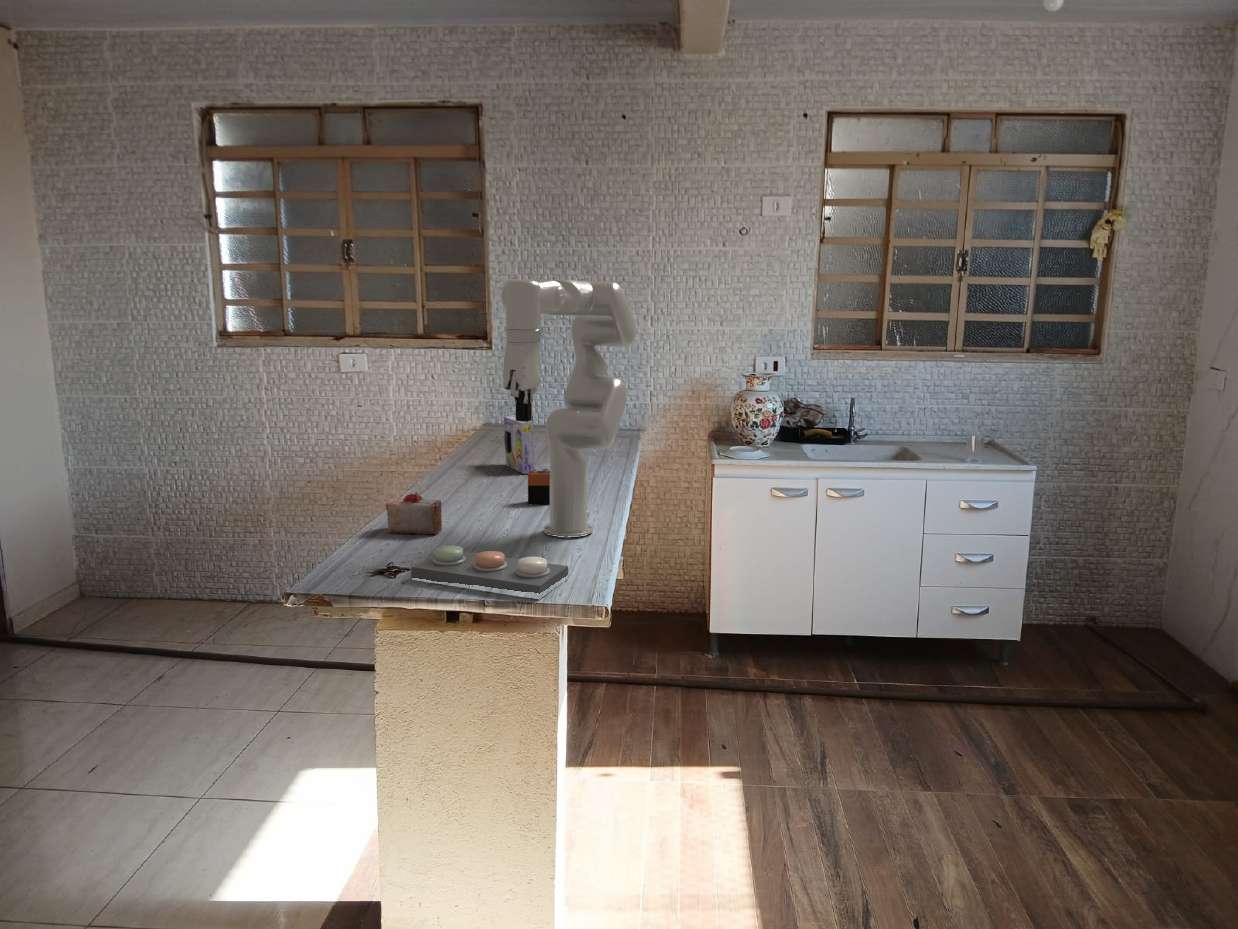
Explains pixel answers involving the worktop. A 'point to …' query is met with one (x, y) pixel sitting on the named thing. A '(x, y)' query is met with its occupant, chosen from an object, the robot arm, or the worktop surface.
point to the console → (488, 574)
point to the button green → (449, 553)
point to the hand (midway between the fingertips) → (523, 420)
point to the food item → (414, 515)
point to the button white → (532, 565)
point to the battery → (539, 486)
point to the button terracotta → (489, 559)
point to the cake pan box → (519, 444)
